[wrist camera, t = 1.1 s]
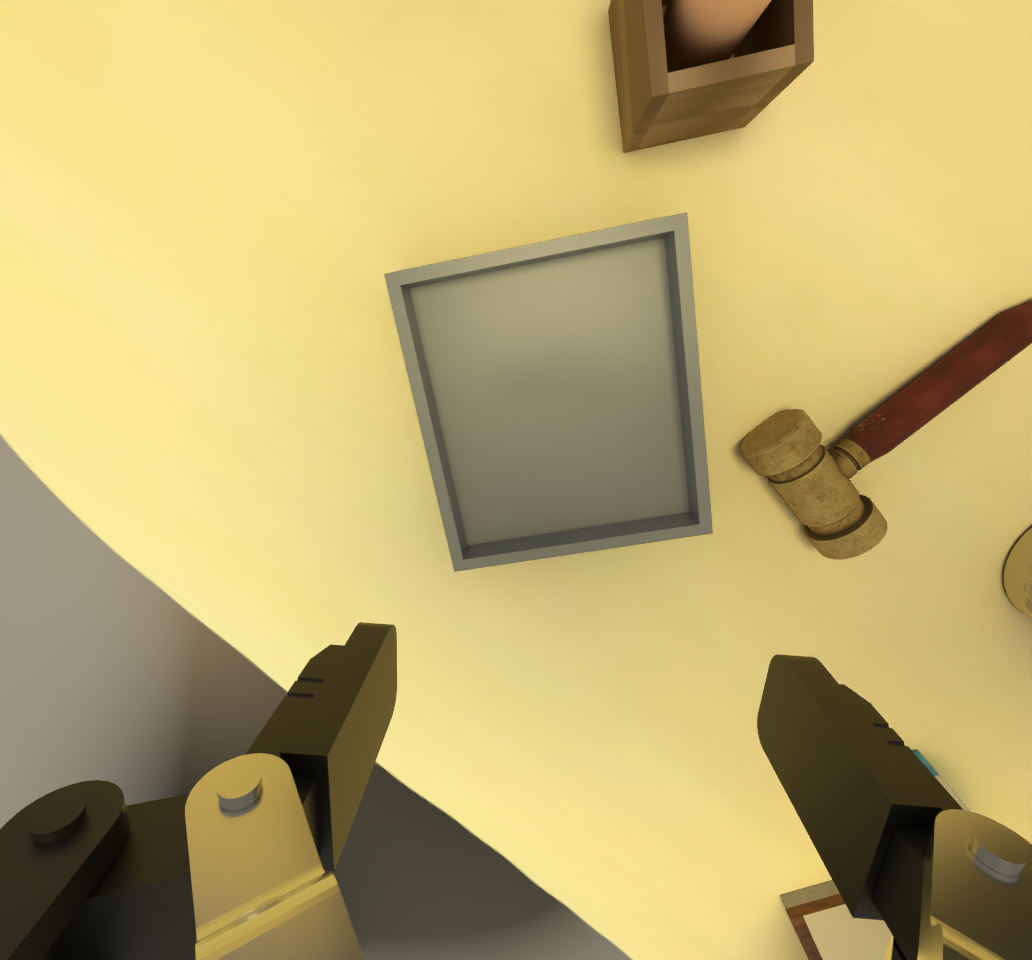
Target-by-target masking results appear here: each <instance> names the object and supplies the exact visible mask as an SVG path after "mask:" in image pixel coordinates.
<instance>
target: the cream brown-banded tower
mask: <svg viewBox="0 0 1032 960" xmlns="http://www.w3.org/2000/svg"><path fill="white" fill-rule="evenodd" d="M780 897H781V899H782V902H783V904H784V906H785V909H786V911H787V913H788V916H789V918H790V920H791V922H792V925H793V927H794V929H795V931H796V933H797V935H798V937H799V939H800V942H801V944H802V946H803V948H804V950H805V952H806V954H807V956H808V959H809V960H885V955H886V949H887V945H888V942H889V939H890V937H891V934H892V933H891V932H890V930H889V928H888V927H887V925H886V923H885V921H883V920H872V919H860V918H853V917H852V915H851V914H850V912H849V910H848V908H847V906H846V904H845V902H844V900H843V898H842V897H841V895H840V893H839V891H838V889H837V887H836V885H835V883H834V882H833V880H831V881H828V882H824V883H821V884H817V885H814V886H811V887H807V888H804V889H800V890H797V891H793V892H790V893H786V894H783V895H780Z"/></svg>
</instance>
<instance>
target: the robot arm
mask: <svg viewBox="0 0 1032 960" xmlns="http://www.w3.org/2000/svg"><path fill="white" fill-rule="evenodd" d="M1004 587H1005V590H1006V593H1007V596H1008V598H1009V599H1010V601H1011V602H1012V604H1013V605H1014V606H1015V607H1016V608H1018V609H1019V610H1020V611H1021V612H1023V613H1024V614H1026V615H1028V616H1029V617H1031V618H1032V528H1030V529H1029V530H1028V531H1027V532H1026V533H1025V534H1024V535H1023V536H1022V537H1021V538H1020V539H1019V541H1018V542H1017V544H1016V545H1015V546H1014V548H1013V549H1012V551H1011V553H1010V555H1009V557H1008V560H1007V562H1006V566H1005V571H1004ZM396 693H397V636H396V627H395V626H394V625H387V624H374V623H361V622H360V623H359V624H358V625H357V626H356V628H355V629H354V631H353V633H352V634H351V636H350V637H349V639H348V641H347V642H346V644H345V646H341V645H329V646H328V647H327V648H325V649H324V650H322V651H321V652H320V653H318V654H317V655H316V656H314V657H313V658H311V659H310V660H309V662H308V663H307V665H306V666H305V668H304V669H303V671H302V672H301V674H300V675H299V677H298V680H297V681H295V682H294V684H293V685H292V687H291V688H290V690H289V691H288V694H287V696H286V697H284V698H283V700H282V701H281V703H280V704H279V706H278V707H277V709H276V710H275V712H274V713H273V715H272V716H271V718H270V719H269V720H268V722H267V723H266V725H265V726H264V728H263V729H262V731H261V732H260V734H259V735H258V737H257V738H256V739H255V741H254V743H253V744H252V745H251V747H250V748H249V750H248V751H247V753H246V754H245V755H243V756H239V757H236V758H234V759H231V760H229V761H226V762H224V763H222V764H221V765H219V766H217V767H216V768H214V769H213V770H211V771H210V772H208V773H207V774H206V775H205V776H204V777H203V778H202V779H201V780H200V781H199V782H198V783H197V784H196V785H195V787H194V788H193V789H192V791H191V792H190V793H188V794H184V795H179V796H175V797H170V798H165V799H160V800H155V801H149V802H144V803H139V804H134V805H129V806H126V805H125V801H124V795H123V793H122V790H121V789H120V788H119V787H118V786H117V785H115V784H114V783H111V782H107V781H100V780H96V781H85V782H80V783H76V784H72V785H69V786H66V787H63V788H60V789H57V790H55V791H53V792H51V793H49V794H47V795H45V796H43V797H41V798H39V799H37V800H36V801H34V802H33V803H31V804H30V805H28V806H26V807H25V808H24V809H22V810H21V811H20V812H18V813H17V814H16V815H15V816H14V817H13V818H11V819H10V820H9V821H8V822H7V823H6V824H5V825H4V826H3V827H2V828H1V829H0V960H195V959H196V960H364V958H363V955H362V953H361V950H360V947H359V944H358V941H357V938H356V935H355V932H354V929H353V927H352V924H351V921H350V918H349V915H348V912H347V910H346V906H345V904H344V901H343V898H342V895H341V892H340V889H339V887H338V884H337V881H336V879H335V877H334V875H333V873H332V872H331V871H334V870H335V867H336V865H337V862H338V859H339V857H340V854H341V852H342V849H343V846H344V843H345V840H346V838H347V835H348V833H349V830H350V827H351V825H352V822H353V819H354V817H355V814H356V811H357V808H358V806H359V803H360V801H361V798H362V795H363V793H364V790H365V787H366V785H367V782H368V779H369V776H370V774H371V771H372V769H373V766H374V763H375V761H376V758H377V755H378V753H379V750H380V747H381V745H382V742H383V739H384V737H385V734H386V731H387V729H388V726H389V723H390V721H391V718H392V715H393V711H394V706H395V701H396ZM888 725H889V724H888V723H887V722H886V721H885V720H884V718H883V717H882V716H881V715H880V714H879V713H878V712H877V710H876V709H875V708H874V707H873V706H872V705H871V704H870V703H869V702H868V701H866V700H865V699H864V698H862V697H861V696H859V695H858V694H857V693H855V692H854V691H852V690H851V689H850V688H848V687H847V686H845V685H842V684H838V683H837V681H836V680H835V679H834V678H833V677H832V675H831V674H830V673H829V672H828V671H827V669H826V668H825V667H824V666H823V665H822V663H821V662H820V661H819V660H818V659H816V658H814V657H803V656H790V655H775V656H774V657H773V658H772V660H771V662H770V665H769V669H768V674H767V678H766V682H765V686H764V691H763V695H762V699H761V703H760V708H759V712H758V719H757V727H758V735H759V739H760V743H761V745H762V748H763V750H764V752H765V754H766V755H767V757H768V759H769V761H770V763H771V765H772V767H773V769H774V770H775V772H776V774H777V776H778V778H779V780H780V782H781V784H782V786H783V787H784V789H785V791H786V793H787V795H788V797H789V799H790V801H791V802H792V804H793V806H794V808H795V810H796V812H797V814H798V816H799V818H800V819H801V821H802V823H803V825H804V827H805V829H806V831H807V833H808V834H809V836H810V838H811V840H812V842H813V844H814V846H815V848H816V850H817V851H818V853H819V855H820V857H821V859H822V861H823V863H824V865H825V866H826V868H827V870H828V872H829V874H830V876H831V878H832V880H833V882H834V883H835V885H836V887H837V889H838V891H839V893H840V895H841V897H842V898H843V900H844V902H845V904H846V906H847V908H848V910H849V912H850V914H851V915H852V917H853V918H860V919H872V920H883V921H885V923H886V925H887V927H888V928H889V930H890V932H891V933H892V934H891V937H890V939H889V942H888V945H887V949H886V955H885V960H1032V844H1030V843H1029V842H1028V841H1027V840H1025V839H1024V838H1023V837H1021V836H1020V835H1018V834H1017V833H1015V832H1014V831H1012V830H1011V829H1009V828H1007V827H1006V826H1004V825H1002V824H1000V823H998V822H996V821H994V820H992V819H990V818H987V817H985V816H983V815H980V814H977V813H974V812H970V811H966V810H964V809H963V808H962V807H961V806H960V805H959V804H958V803H957V802H956V800H955V799H954V798H953V797H952V796H951V795H950V794H949V792H948V791H947V790H946V789H945V788H944V787H943V786H942V784H941V783H940V782H939V781H938V780H937V779H936V778H935V776H934V775H933V774H932V773H931V772H930V771H929V770H928V769H927V767H926V766H925V765H924V764H923V763H922V762H921V761H920V759H919V758H918V757H917V756H916V755H915V754H914V753H913V751H912V750H911V749H910V748H909V747H908V746H905V745H904V741H903V740H902V739H901V738H900V737H899V736H898V734H897V733H896V732H895V731H894V730H893V729H892V728H889V726H888ZM324 870H329V871H328V872H326V873H325V872H324Z"/></svg>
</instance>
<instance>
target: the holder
mask: <svg viewBox="0 0 1032 960" xmlns="http://www.w3.org/2000/svg"><path fill="white" fill-rule="evenodd" d="M669 1H670V0H611V2H610V7H609V11H608V12H609V21H610V30H611V39H612V49H613V58H614V67H615V76H616V86H617V95H618V104H619V114H620V123H621V132H622V141H623V151H624V153H625V152H630V151H634V150H639V149H644V148H648V147H653V146H658V145H662V144H667V143H672V142H676V141H681V140H685V139H690V138H695V137H699V136H704V135H709V134H713V133H718V132H723V131H727V130H732V129H737V128H741V127H745V126H746V125H747V124H748V123H749V122H750V121H751V120H752V119H753V118H755V117H756V116H757V115H758V114H759V113H760V112H761V111H762V110H763V109H764V108H765V107H766V106H767V105H768V104H769V103H770V102H771V101H772V100H773V99H774V98H776V97H777V96H778V95H779V94H780V93H781V92H782V91H783V90H784V89H785V88H786V87H787V86H788V85H789V84H790V83H791V82H792V81H793V80H794V79H795V78H796V77H798V76H799V75H800V74H801V73H802V72H803V71H804V70H805V69H806V68H807V67H808V66H809V65H810V64H811V63H812V62H813V61H814V44H813V0H771V2H770V3H769V4H768V6H767V7H766V9H765V10H764V11H763V13H762V14H761V16H760V17H759V18H758V20H757V21H756V22H755V24H754V25H753V27H752V28H751V29H750V31H749V32H748V34H747V35H746V36H745V38H744V39H743V40H742V42H741V43H740V45H739V46H738V47H737V49H736V50H735V52H734V53H733V54H732V56H731V57H730V58H729V59H727V60H723V61H718V62H714V63H710V64H705V65H701V66H696V67H692V68H688V69H683V70H679V71H674V72H670V73H668V72H667V60H666V48H665V36H664V24H663V15H664V13H665V10H666V8H667V5H668V3H669Z"/></svg>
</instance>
